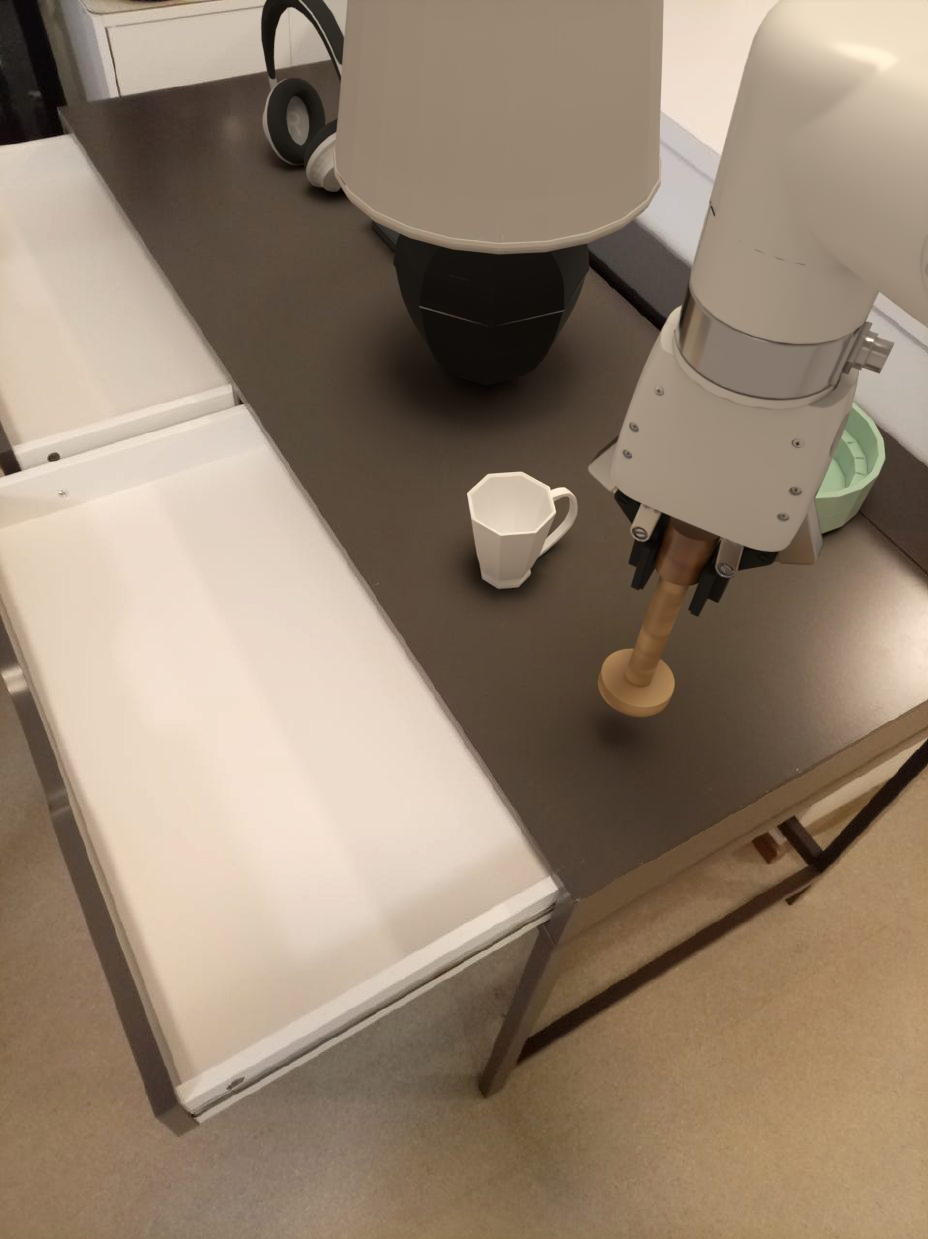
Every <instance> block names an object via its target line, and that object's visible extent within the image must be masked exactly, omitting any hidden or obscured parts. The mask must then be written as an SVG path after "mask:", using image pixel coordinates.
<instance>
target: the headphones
mask: <svg viewBox="0 0 928 1239" xmlns="http://www.w3.org/2000/svg"><path fill="white" fill-rule="evenodd" d="M289 8H292V9H294V10H296V11H297V12H299V13H301V14H302V15H303V16H304V17H305V18H306V19H307V20H308V21H309V22H310V24H312V26H313V27H314V29H315V30H316V32H317V34H318V36H319V38H320V39H321V41H322V43H323V45H324V47H325V49H326V51H327V53H328V56H329V58H330V60H331V62H332V65H333V67H334V70H335V72H336V75H337V78H338V81H339V84H340V85H341V73H342V60H343V47H344V34H345V33H344V31H343V29H342V27H341V25H340V23H339V20H338V19H337V17H336V14H335V13H334V12H333V10H332V8H331V7H330V5H329V4H328V3H327V1H326V0H265V1H264V4H263V6H262V11H261V18H260V39H261V40H260V41H261V46H262V52H263V58H264V62H265V67H266V68H265V69H266V74H267V77H268V83H269V88H270V92H269V93H268V95H267V98H266V102H265V106H264V111H263V114H262V129H263V132H264V133H263V134H264V135H265V137H266V139H267V141H268V143H269V145H270V147H271V148H272V150H273V152H274V153H275V154H276V155H277V156H278V158H280V159H281V160H282V161H283V162H285V163H287V164H290V165H292V166H303V165H304V171H305V174H306V178H307V180H308V181H309V183H310V184H311V185H312V186H314V187H317V188H323V189H324V190H326V191H328V192H331V193H333V192H334V193H336V192H339V191H340V189H341V188H342V187H341V186H340V184H339V182H338V181H337V179H336V177H335V174H334V161H333V148H334V146H335V141H336V131H337V122H338V118H335V119H333V120H331V121H330V122H328V123H326V114H325V108H324V105H323V101H322V99H321V97H320V94H319V92H318V90H317V89H316V88H315V87H314V86H313V85H312V84H311V83H310V82H309V81H307V80H306V79H303V78H300V77H299V78H298V77H289V78H284V79H282V80H281V81H279V82H278V80H277V75H276V65H275V64H276V63H275V43H276V42H275V41H276V33H277V29H278V25H279V22H280V19H281V17H282V15H283V14H284V13H285V11H286V10H288V9H289Z"/></svg>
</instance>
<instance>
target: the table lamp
mask: <svg viewBox="0 0 928 1239" xmlns="http://www.w3.org/2000/svg"><path fill="white" fill-rule="evenodd" d="M346 1H347V3H346V11H345V12H346V13H345V24H344V33H343V34H344V47H343V60H342V73H341V84H340V89H339V100H338V101H339V102H338V113H337V119H338V122H337V131H336V141H335V146H334V148H333V161H334V174H335V177H336V179H337V181H338V182H339V184H340V186H341V187H340V188H341V189H342V191H343V192H344V194H345V196H346V197H347V199H348V200H349V201H350V203H352V204H353V205H354V206H355V207H357V208H358V209H359V210H360V211H361V212H362V213H364V214H365V215H366V216H368V217H369V218H370V219H371V220H372V219H373V220H374V221H375V222H377V223H379V224H381V225H383V226H386V227H388V228H390V229H392V230H394V231H396V232H398V233H400V235H399V237H398V240H397V243H396V248H395V251H394V256H393V262H392V263H393V266H394V268H395V273H396V277H397V282H398V287H399V290H400V294H401V298H402V300H403V304H404V306H405V308H406V311H407V313H408V315H409V317H410V319H411V320H412V322H413V325H414V326H415V328H416V329H417V331H418V333H419V335H420V336H421V339H422V340H423V341H424V343H425V345H426V347H427V348H428V350H429V352H430V353H431V355H432V357H433V358H434V360H435V361H436V363H437V364H438V365H439V367H441V368H442V369H443V370H444V371H445V372H447V373H449V375H452V376H454V377H457V378H460V379H463V380H466V381H470V382H473V383H476V384H480V385H483V386H489V385H494V384H499V383H503V382H507V381H511V380H515V379H518V378H520V377H523V376H526V375H527V374H529V373H531V372H532V371H534V370H535V369H537V367H539V366H540V364H542V362H543V361H544V359H545V358H546V357H547V354H548V353H549V351H550V350H551V349H552V346H553V345H554V343H555V341H556V340H557V338H558V336H559V335H560V333H561V332H562V329H563V328H564V326H565V324H566V323H567V321H568V319H569V318H570V316H571V315H572V313H573V311H574V309H575V306H576V304H577V303H578V301H579V297H580V295H581V292H582V289H583V286H584V283H585V280H586V278H587V274H588V272H589V271H590V253H589V252H590V251H589V246H588V244H589V243H591V242H594V241H597V240H599V239H601V238H604V237H606V236H609V235H611V234H613V233H616V232H618V231H620V230H622V229H624V227H626V226H628V225H629V224H630V223H631V222H633V221H634V220H635V219H636V218H638V216H640V215H641V214H643V213H644V212H645V211H646V209H648V208H649V206H650V204H651V203H652V201H653V199H654V198H655V195H656V194H657V192H658V190H659V189H660V187H661V185H662V184H661V183H662V157H661V156H660V155H661V107H662V106H661V105H662V104H661V103H662V102H661V100H662V78H663V77H662V75H663V50H664V49H663V47H664V46H663V45H664V44H663V43H664V42H663V41H664V6H665V4H664V2H665V1H664V0H346Z"/></svg>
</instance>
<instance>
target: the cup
mask: <svg viewBox="0 0 928 1239" xmlns="http://www.w3.org/2000/svg"><path fill="white" fill-rule="evenodd" d="M466 496H467V501H468V509H469V513H470V521H471V527H472V535H473V540H474V547H475V552H476V556H477V560H478V563H479V568H480V574H481V579H482V580H483V581H485V582H487V583H488V584H490V585H491V586H493V587H495V588H496V589H498V590H502V589H512V588H515V589H516V588H519V587H520V586H521V585H522V584H524V582H525V581H526V580H527V579H528V578H529V577H530V576H531V573H532V572H531V569H532V568H533V566H534V565H535V563H536V561H537V560H538V559H539V557H541V556H542V555H544V554H545V553H546V552H548V550H550V549H551V548H552V547H553V546H554V545H555V544H556V543H557V542H558V541H559V540H561V538H563V537H564V536H565V535H566V534H567V532H568V531H569V530H570V529H571V527H572V526H573V525H574V523H575V521H576V518H577V516H578V510H579V509H578V508H579V505H578V500H577V497H576V495H574V494H573V492H571V490H569V489H568V488H566V487H556V488H552V489H551V487H550V486H549V485H547V484H545V483H544V482H541V481H540V480H537V479H536V478H534V477H532V476H530V475H529V474H527V473H525V472H523V471H511V472H496V473H495V472H494V473H488V474H486V475H485V476H484V477H483V478H482V479H481V480H480V481H479V482H477V483H476V485H474V486H473V487H472V488H470V490H469V491H468V492H467V493H466ZM561 498H568V501H569V504H568V505H569V506H568V508H569V509H568V512H567V514H566V515H565V518H564V520H563V521H562V522H561V523H560V524H559V525H558V526H557V528H556V529H555V530H553V531H552V533H550V535H548V534H549V532H550V530H551V527H552V524H553V522H554V520H555V517H556V514H557V510H556V507H555V502H556V501H557V500H560V499H561Z"/></svg>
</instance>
